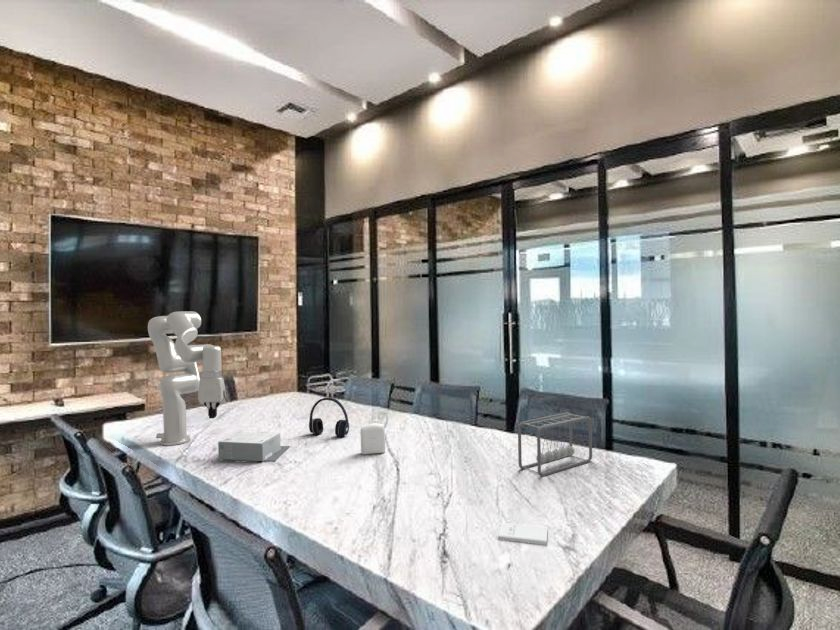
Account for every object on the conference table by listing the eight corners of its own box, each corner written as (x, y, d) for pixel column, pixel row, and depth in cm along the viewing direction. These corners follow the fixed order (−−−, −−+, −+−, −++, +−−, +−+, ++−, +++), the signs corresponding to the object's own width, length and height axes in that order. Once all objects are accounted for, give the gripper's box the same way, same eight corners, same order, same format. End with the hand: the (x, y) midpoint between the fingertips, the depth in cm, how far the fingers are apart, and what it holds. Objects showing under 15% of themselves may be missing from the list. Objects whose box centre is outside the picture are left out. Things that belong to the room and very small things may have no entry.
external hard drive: (547, 547, 120) (497, 541, 123) (547, 532, 127) (501, 527, 131) (546, 541, 119) (497, 535, 123) (547, 526, 127) (501, 521, 131)
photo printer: (361, 455, 196) (360, 425, 196) (360, 452, 200) (360, 423, 200) (385, 453, 198) (385, 424, 197) (384, 450, 202) (384, 421, 202)
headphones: (307, 436, 228) (306, 398, 227) (314, 432, 234) (313, 395, 234) (344, 439, 221) (343, 400, 221) (350, 435, 228) (350, 397, 227)
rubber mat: (221, 462, 191) (221, 461, 191) (241, 447, 211) (241, 446, 211) (275, 461, 190) (275, 460, 190) (290, 446, 210) (290, 445, 210)
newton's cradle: (539, 478, 166) (538, 428, 166) (518, 469, 175) (517, 422, 175) (592, 461, 183) (592, 415, 182) (570, 454, 191) (570, 411, 191)
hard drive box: (217, 460, 192) (262, 462, 188) (217, 441, 192) (261, 443, 188) (239, 448, 208) (281, 450, 204) (239, 431, 207) (280, 432, 203)
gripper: (190, 376, 197) (190, 419, 197) (225, 376, 196) (226, 420, 197) (199, 373, 204) (199, 415, 205) (233, 373, 204) (233, 415, 205)
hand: (212, 417), depth 201 cm, fingers closed
